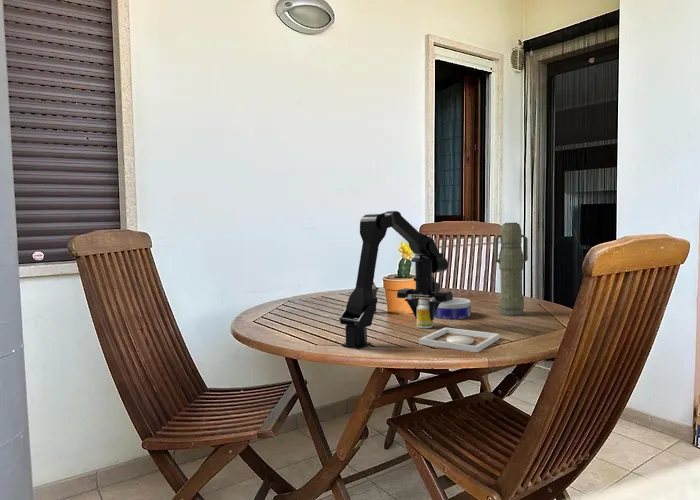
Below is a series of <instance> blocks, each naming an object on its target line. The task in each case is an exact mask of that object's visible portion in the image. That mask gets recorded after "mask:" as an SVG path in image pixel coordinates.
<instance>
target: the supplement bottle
mask: <svg viewBox="0 0 700 500" xmlns="http://www.w3.org/2000/svg"><path fill="white" fill-rule="evenodd" d="M430 300H431V298H426V297H422V298H419V302H418V306H417V319H416V327H417V328H419V329H430V328H431V329H432V328H433V322H434V320H433V321H431V318H430V305H429V302H430Z"/></svg>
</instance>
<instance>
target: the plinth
mask: <svg viewBox="0 0 700 500" xmlns="http://www.w3.org/2000/svg"><path fill="white" fill-rule="evenodd" d="M445 339H446V341H445V342H451V343H458V344H465V345H471V344H473V343H474V342H475V341H474V340H475V339H474V338H473V336H467V335H451V336H447V337H445Z"/></svg>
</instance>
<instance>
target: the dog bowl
mask: <svg viewBox="0 0 700 500" xmlns="http://www.w3.org/2000/svg"><path fill="white" fill-rule="evenodd" d="M430 301H432V299H430ZM471 308H472V301H471V300H470V299H467V298H461V297H453V300H450V301H447V302H441V303H440V304H439V306H438V308H437V311H436V314H435V317H434V319H438V318H439V320H448V319H449V320H452V321H453V320H465V319H466V320H467V319H469V318H470V317H471V312H472V309H471Z"/></svg>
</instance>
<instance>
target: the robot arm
mask: <svg viewBox="0 0 700 500" xmlns="http://www.w3.org/2000/svg"><path fill="white" fill-rule="evenodd" d="M389 228H392V229H393V230H394V231H395V232H396V233H397V234H399V235H400V236H401V237H402V238H403V239H404V240H405V241H406V242H407V243H408V247H409V250H411V251H412V253H413V254H414V257H412V258H411V260H410V262H411V263H414V264H415V266H414V267H415V269H414V270H415V271H414V272H415V277H413V281H414V282H415V289H414V288H409V287H408V288H406V287H404V288H400V289H398V290H397V292H396V298H397V299H404V302H407V304H408V306H409V307H410V310H411V311H412V313H413V316H414V317H415V320H417V306H418V305H419V303H418V302H419V299H420V298H426V299H431V300H432V301H430V302H429V305H430V318H431V321H433V322H434V321H435V320H434V319H435V318H434V317H435V314H436V311H437V308H438V306H439V304H440V303H441V302H447V301H450V300H453V298H454V296H453V295H454V294H453V293H452V291H450V290H449V291H448V290H441V283H439V282H437V281H436V280H435V277H434V276H433V274H438V273H443V272H446V271H447V270H448V268H449V262H448V259H447V258H446V257H445V256H444V253H443V252H440V250H439V249H438V247H437V244H436V241H435V240H434V239H433V238H432V237H430V236H429V235H427V234H423V233H421V232H420V231H418V230H417V229H416V228H415V227H414V226H413V224H411V223H410V222H409V221H408V220H407V219H406V218H404V217H403V216H402V214H401V212H400V211H398V210H387V211H385V212H382V213H375V214H373V213H372V214H371V213H369V214H364V215H363V216H362V217H360V221H359V235H360V237H361V239H362V245H361V252H360V258H359V265H358V271H357V278H356V283H355V288H354V289H353V291H352V292H351V294H350V295H349V297H348V300H347V303H346V307H345V308H344V310H343V311H342V313H341V315H340V316H339V318H338V319H339V322H340V325H345V342H344V343H341V347H345V348H351V349H358V350H361V349H363V348H364V347H368V346H370V345H372V342H371V341H370V342H369V341H368V330H367V329H368V327H371V326H372V324H373V319H374V315H375V314H374V313H375V312H377V304H378V297H377V296H376V297H374V296H373V293H372V286H373V282H374V279H375V273H376V272H375V271H376V266H377V259H378V253H379V246H380V244H381V242H382V241H383V240H384V238H385V237H386V234H387V231H388V229H389Z"/></svg>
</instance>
